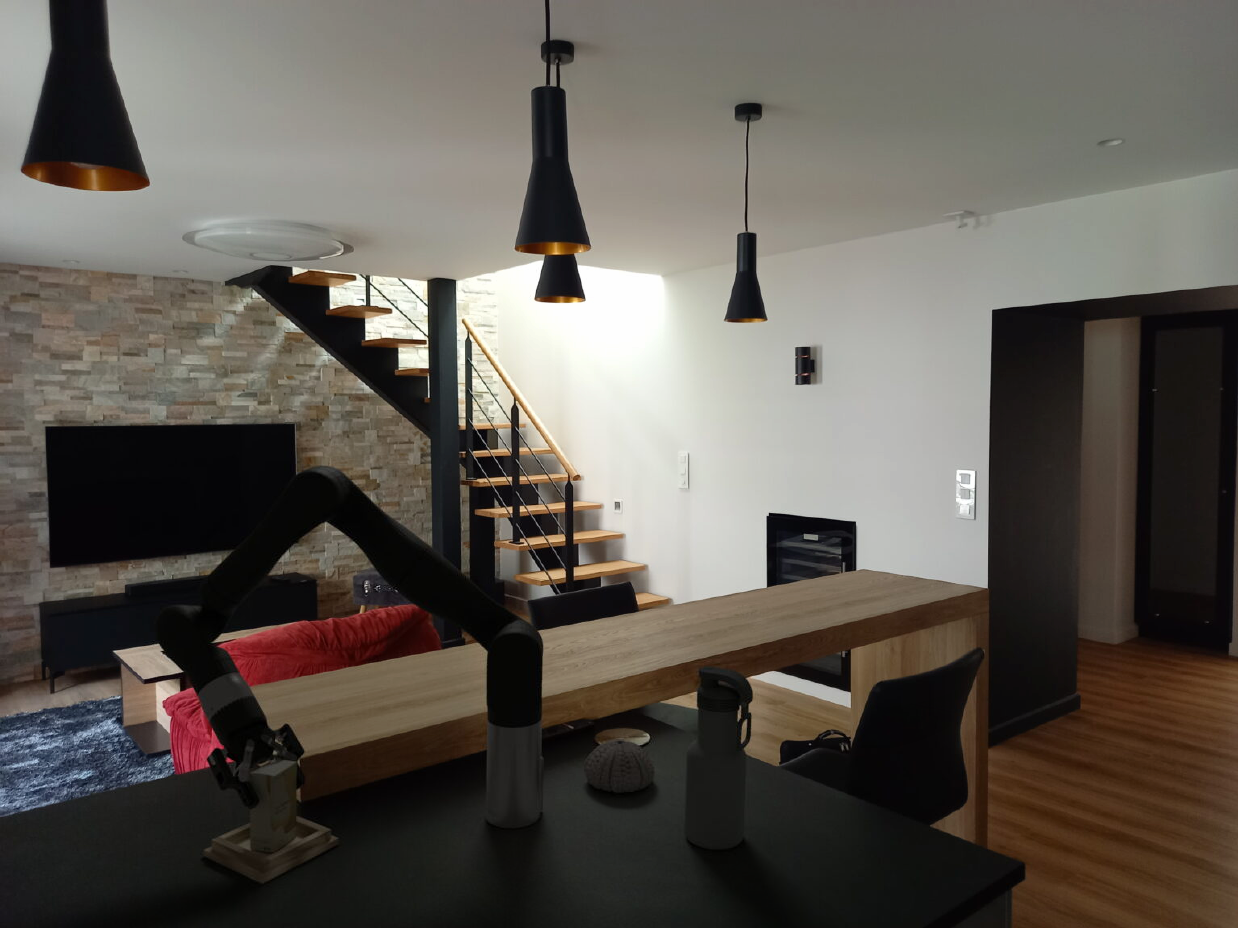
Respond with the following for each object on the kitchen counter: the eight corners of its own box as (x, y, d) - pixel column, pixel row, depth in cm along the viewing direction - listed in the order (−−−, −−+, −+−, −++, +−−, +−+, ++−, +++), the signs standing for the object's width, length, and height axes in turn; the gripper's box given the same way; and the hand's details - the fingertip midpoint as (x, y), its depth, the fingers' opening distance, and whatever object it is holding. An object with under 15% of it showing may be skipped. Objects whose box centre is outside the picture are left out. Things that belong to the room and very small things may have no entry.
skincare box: (273, 854, 134) (273, 776, 133) (248, 850, 135) (248, 773, 134) (298, 834, 140) (298, 760, 139) (274, 830, 141) (274, 756, 140)
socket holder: (281, 820, 147) (281, 806, 147) (338, 843, 139) (338, 828, 139) (203, 855, 135) (203, 840, 135) (262, 883, 128) (262, 867, 127)
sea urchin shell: (572, 775, 168) (573, 734, 167) (634, 764, 174) (635, 724, 173) (602, 804, 156) (603, 760, 155) (668, 791, 162) (669, 748, 162)
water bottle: (753, 831, 147) (759, 667, 145) (735, 858, 138) (741, 684, 136) (696, 818, 151) (701, 659, 149) (675, 843, 142) (680, 674, 141)
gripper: (200, 708, 133) (248, 800, 128) (280, 683, 146) (327, 767, 140) (180, 734, 137) (226, 826, 131) (259, 708, 149) (305, 791, 144)
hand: (278, 795), depth 136 cm, fingers open, 8 cm apart
